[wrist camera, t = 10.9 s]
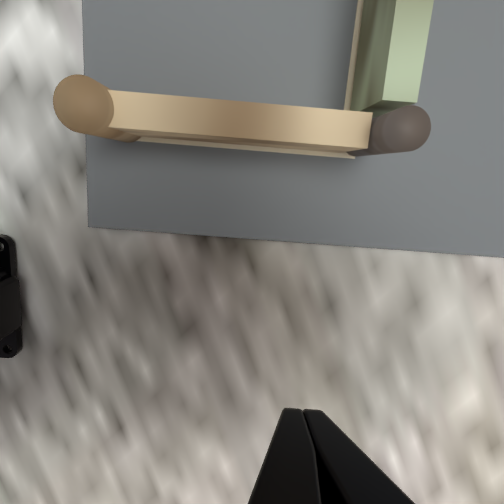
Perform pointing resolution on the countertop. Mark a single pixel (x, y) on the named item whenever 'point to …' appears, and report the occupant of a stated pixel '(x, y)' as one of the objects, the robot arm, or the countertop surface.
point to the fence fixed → (235, 121)
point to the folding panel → (390, 54)
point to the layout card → (306, 95)
